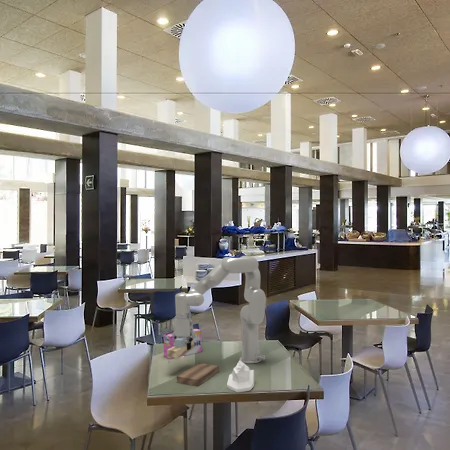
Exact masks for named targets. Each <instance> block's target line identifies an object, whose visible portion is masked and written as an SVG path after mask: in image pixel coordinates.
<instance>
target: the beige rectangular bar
mask: <svg viewBox="0 0 450 450" xmlns="http://www.w3.org/2000/svg"><path fill="white" fill-rule="evenodd" d="M187 343H188V342H187V340H185V346H184V347H182V348H178V347H175V346H174V347H172V348H170V349H168V350H167V355H168V358H167V359H169V358H173V359H175V360H177V359H178V358H181V357H183V356H182V355H184V354H185V353H187V352H189V351H191V350H192V349H194V341H192V342H191V349H190V350H187ZM180 356H181V357H180Z"/></svg>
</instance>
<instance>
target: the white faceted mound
mask: <svg viewBox="0 0 450 450" xmlns="http://www.w3.org/2000/svg"><path fill="white" fill-rule="evenodd" d="M227 379H228V380H227V384H226V388H227V389H229V390H231V391H233V392H235V393H242V392H243V393H244V392H248V391H249V392H250V391H251V390H252V388H253V387H254V386H255V369H250V367H249V366H248V365H247V364H246V363H243V362H242V361H241V360H240V359H239V360H238V362H237V364H236V366H235V367H233V370H232V371H231V373H230V374H229V375H228V378H227Z"/></svg>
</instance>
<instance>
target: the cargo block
mask: <svg viewBox="0 0 450 450" xmlns="http://www.w3.org/2000/svg"><path fill="white" fill-rule="evenodd" d="M184 346H185V338H177V339H175V347H178V348H182V347H184Z"/></svg>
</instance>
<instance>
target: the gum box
mask: <svg viewBox="0 0 450 450" xmlns="http://www.w3.org/2000/svg"><path fill="white" fill-rule="evenodd" d="M193 331H194V334H195V335H196V337H195V338H194V339H193V340H192V341H194V349H192V350H191V351H189V352H187V353H185V354H184V355H182V356H180V357H179V358H181V357H185V356H189V355H190V356H191V355H194V354H199V353H201V352H203V351H202V350H203V347H202V346H203V344H202V342H203V341H202V330H201V329H198V328H197V327H193ZM173 332H174V331H171V332H167V333H163V356H164V357H165V358H167V359H169V360H172V359H174V358H168V355H167V350H168V349H170V348H172V347H174V346H175V338H174V337H173V336H172V333H173ZM181 338H185V340H187V339H186V337H181ZM191 338H192V336H191Z"/></svg>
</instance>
